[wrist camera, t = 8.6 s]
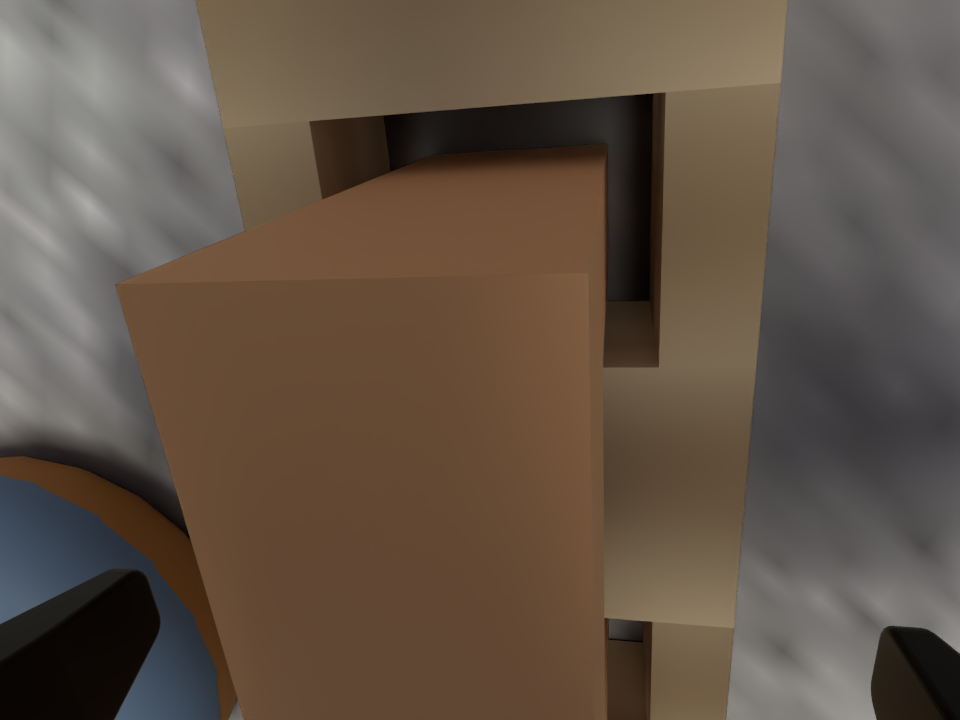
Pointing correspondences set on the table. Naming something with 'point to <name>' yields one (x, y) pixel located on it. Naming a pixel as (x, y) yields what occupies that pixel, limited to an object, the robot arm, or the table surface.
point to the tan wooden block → (398, 440)
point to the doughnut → (106, 545)
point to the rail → (628, 324)
